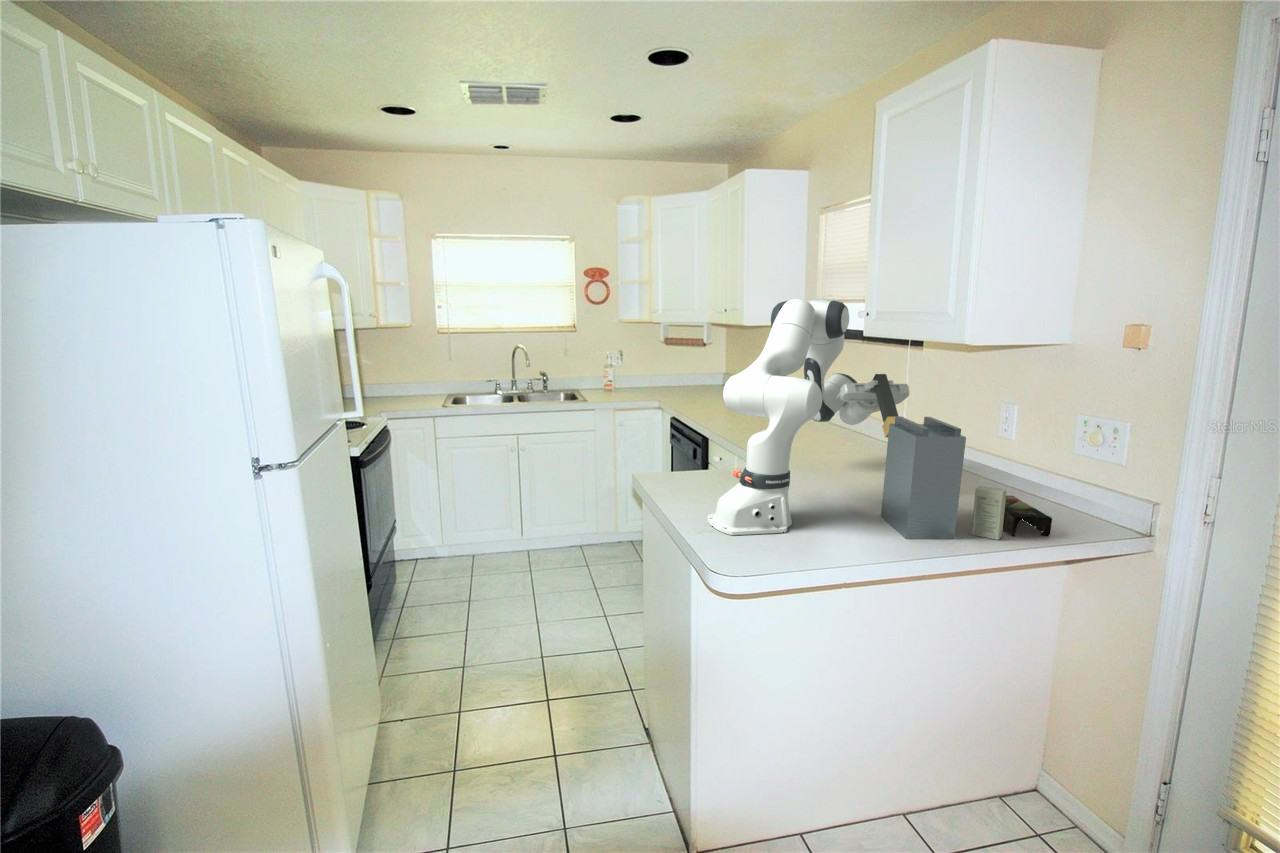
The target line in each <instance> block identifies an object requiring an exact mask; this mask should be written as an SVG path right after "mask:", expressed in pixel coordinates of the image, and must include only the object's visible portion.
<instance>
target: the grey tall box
mask: <svg viewBox="0 0 1280 853" xmlns="http://www.w3.org/2000/svg"><path fill="white" fill-rule="evenodd" d="M903 417H904V416H899V415H898V416H895V424H889V434H888V438H887V447H886V459H885V469H884V478H883V490H882V491H883V492H882V502H881V510H880V511H881V512H880V518H881V519H883V520H884V522H886V523H887V524H888V525H889V526H891V527H892V528H893V529H894V530H895V531H896V532H898V533H899V535H901V536H902V537H903V538H904V539H906V540H955V536H956V535H955V534H956V526H957V517H958V511H959V501H960V500H959V499H960V492H961V483H962V478H963V477H962V475H963V469H964V468H963V467H964V459H965V449H966V443H967V437H966V436H964V435H962V428H959V427H957V426H956V425H953V424H950V423H947V422H946V421H945V422H944V421H943V420H939V419H937V418H934V417H932V416H924V417H923V423H917V422H916V421H912V420H910V419H908V418H905V417H904V418H903Z"/></svg>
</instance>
